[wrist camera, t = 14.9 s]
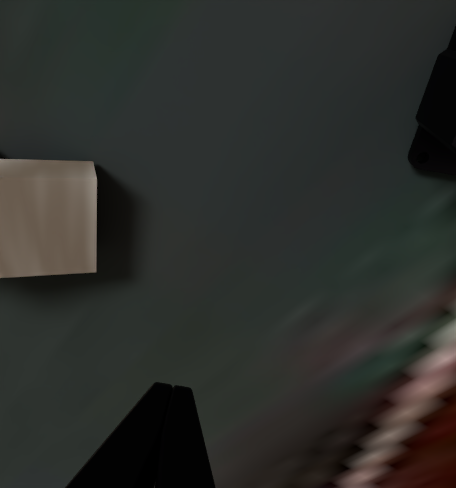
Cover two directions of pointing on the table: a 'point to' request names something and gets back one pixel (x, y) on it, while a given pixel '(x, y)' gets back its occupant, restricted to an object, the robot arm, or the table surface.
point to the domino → (47, 217)
